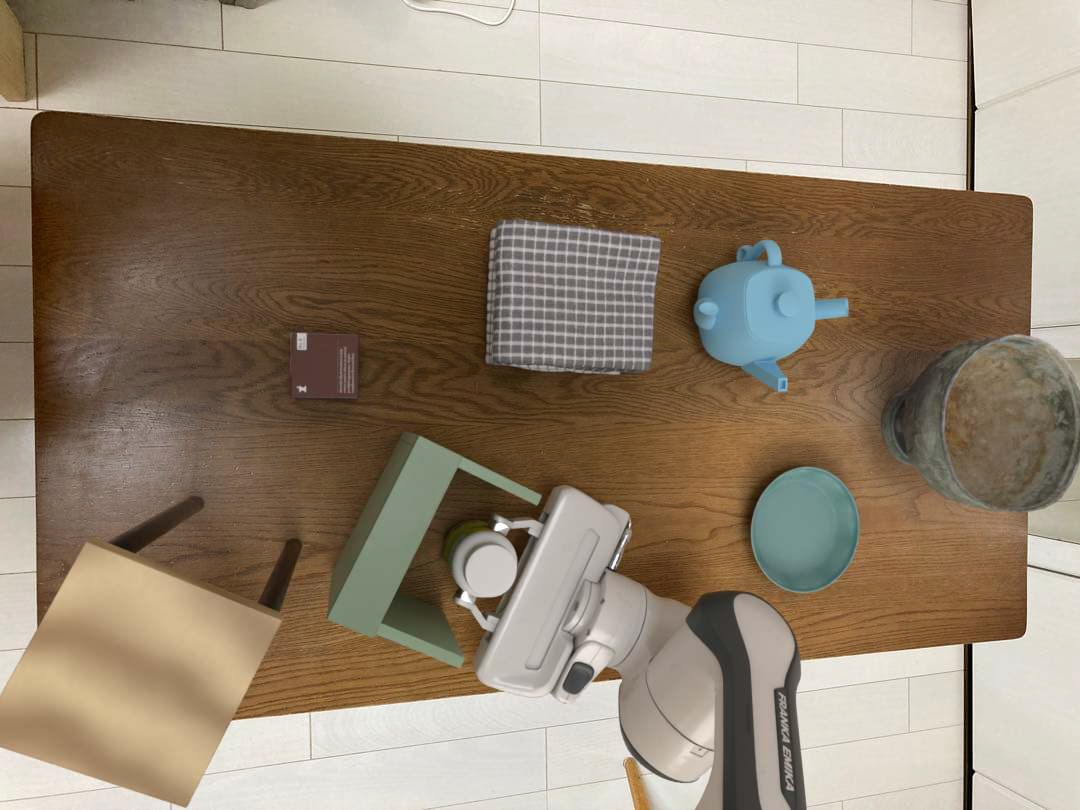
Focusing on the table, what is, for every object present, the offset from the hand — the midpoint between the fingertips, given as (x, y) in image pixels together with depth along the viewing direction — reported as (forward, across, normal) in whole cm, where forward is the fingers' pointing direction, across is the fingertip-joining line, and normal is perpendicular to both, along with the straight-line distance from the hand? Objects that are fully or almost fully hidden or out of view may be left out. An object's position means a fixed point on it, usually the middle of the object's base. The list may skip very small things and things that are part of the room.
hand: (473, 556), depth 67 cm
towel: (+1, -28, +8) cm, 29 cm away
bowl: (-46, -37, +8) cm, 59 cm away
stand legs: (+20, +12, +7) cm, 25 cm away
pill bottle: (-1, 0, +6) cm, 6 cm away
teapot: (-18, -36, +8) cm, 41 cm away
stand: (+20, +12, -19) cm, 30 cm away
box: (+20, -10, +8) cm, 24 cm away
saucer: (-36, -18, +8) cm, 41 cm away
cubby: (+5, 0, +7) cm, 9 cm away
